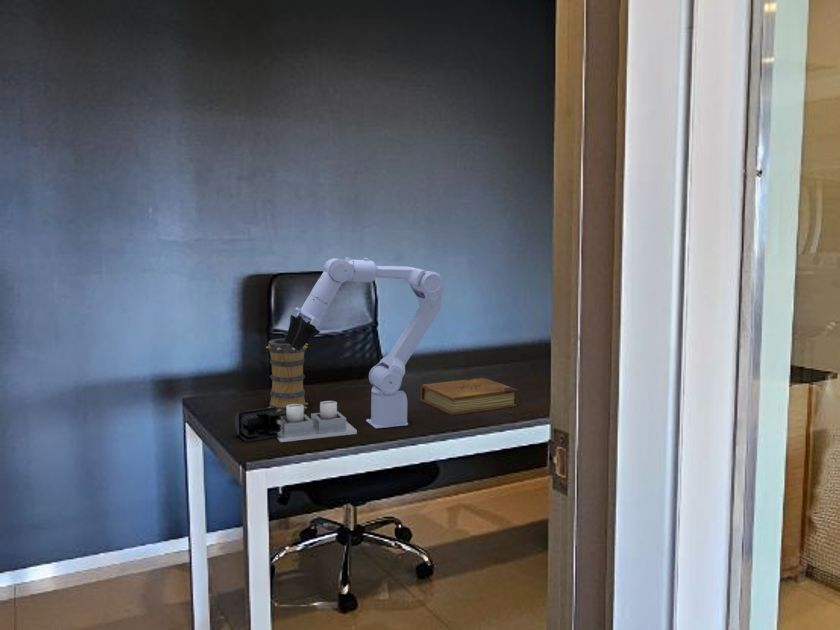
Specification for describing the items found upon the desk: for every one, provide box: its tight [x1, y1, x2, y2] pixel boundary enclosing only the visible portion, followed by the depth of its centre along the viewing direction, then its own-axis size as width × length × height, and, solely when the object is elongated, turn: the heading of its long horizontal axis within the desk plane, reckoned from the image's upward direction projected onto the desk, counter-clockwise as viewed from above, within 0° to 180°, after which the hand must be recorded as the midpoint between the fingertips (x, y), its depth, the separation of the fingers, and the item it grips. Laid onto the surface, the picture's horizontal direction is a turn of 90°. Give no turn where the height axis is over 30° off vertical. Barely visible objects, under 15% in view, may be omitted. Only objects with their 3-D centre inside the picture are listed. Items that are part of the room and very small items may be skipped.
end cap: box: [234, 406, 282, 443], centre depth 187 cm, size 10×7×7 cm
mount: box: [276, 410, 358, 443], centre depth 193 cm, size 20×14×4 cm
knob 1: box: [285, 404, 305, 423], centre depth 191 cm, size 4×4×4 cm
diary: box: [419, 377, 519, 416], centre depth 224 cm, size 23×19×6 cm
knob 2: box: [319, 400, 338, 419], centre depth 195 cm, size 4×4×4 cm
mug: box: [265, 337, 309, 415], centre depth 214 cm, size 13×17×20 cm
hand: (291, 346), depth 188 cm, fingers open, 7 cm apart
